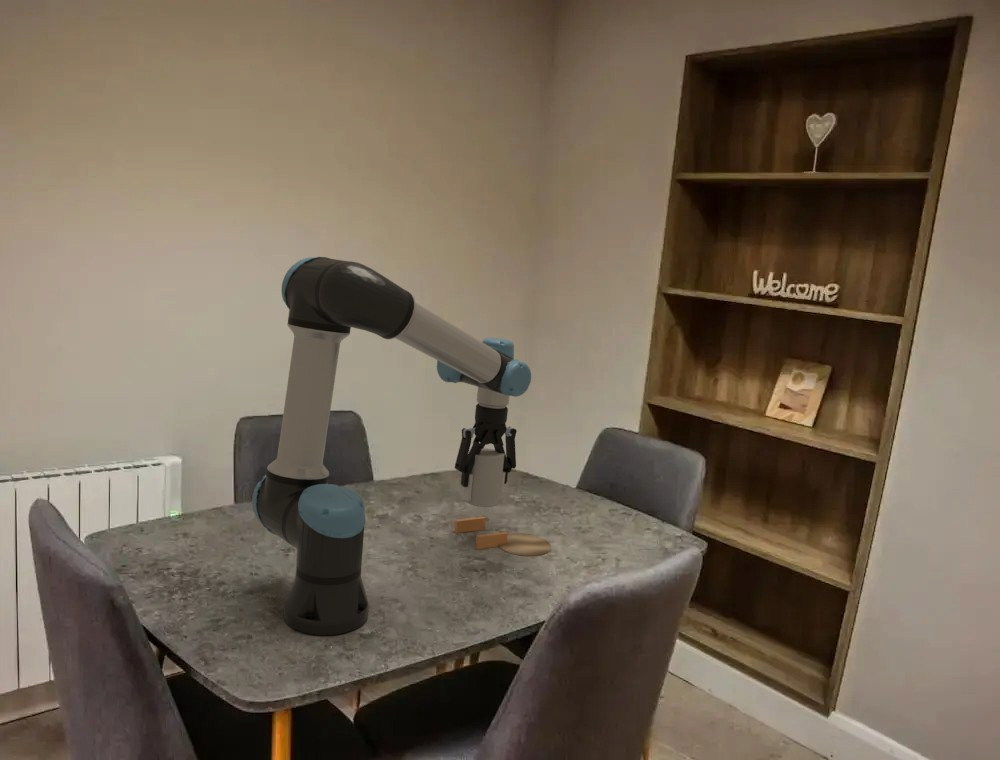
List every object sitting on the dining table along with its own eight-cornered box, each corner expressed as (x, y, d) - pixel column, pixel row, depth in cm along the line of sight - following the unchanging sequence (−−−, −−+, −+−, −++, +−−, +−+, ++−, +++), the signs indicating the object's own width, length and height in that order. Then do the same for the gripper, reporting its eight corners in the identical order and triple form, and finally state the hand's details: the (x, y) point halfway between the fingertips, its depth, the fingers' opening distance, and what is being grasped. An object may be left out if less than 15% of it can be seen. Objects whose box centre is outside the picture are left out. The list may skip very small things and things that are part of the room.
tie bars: (506, 545, 185) (507, 533, 184) (477, 549, 180) (478, 537, 180) (482, 527, 194) (483, 516, 194) (454, 531, 190) (455, 519, 190)
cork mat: (561, 552, 184) (561, 550, 183) (514, 559, 177) (515, 557, 177) (531, 532, 194) (531, 530, 194) (486, 538, 188) (486, 536, 188)
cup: (500, 498, 189) (505, 450, 187) (497, 508, 181) (502, 459, 179) (467, 494, 190) (472, 446, 188) (462, 504, 182) (467, 454, 180)
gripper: (521, 400, 190) (511, 490, 194) (444, 401, 179) (436, 496, 183) (538, 407, 184) (527, 499, 188) (460, 409, 173) (450, 506, 177)
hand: (482, 498), depth 185 cm, fingers closed on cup, 8 cm apart
